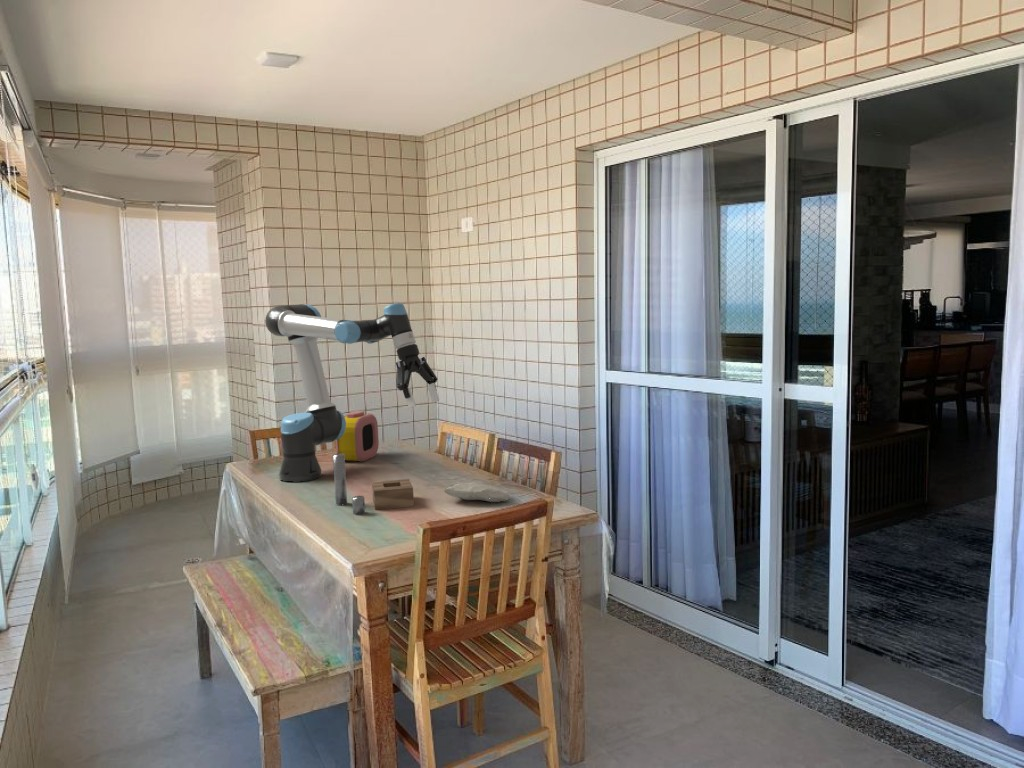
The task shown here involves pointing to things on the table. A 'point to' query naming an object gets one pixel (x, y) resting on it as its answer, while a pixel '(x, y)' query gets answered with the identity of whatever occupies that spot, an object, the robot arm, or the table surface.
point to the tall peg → (340, 479)
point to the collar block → (392, 494)
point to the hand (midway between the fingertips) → (424, 404)
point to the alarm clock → (359, 437)
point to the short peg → (358, 505)
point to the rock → (477, 492)
